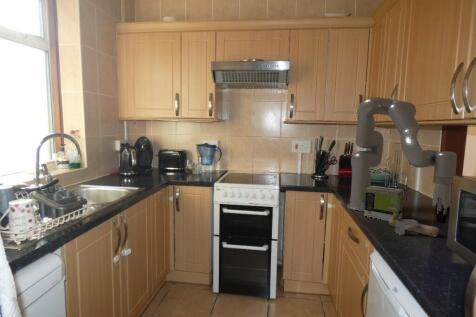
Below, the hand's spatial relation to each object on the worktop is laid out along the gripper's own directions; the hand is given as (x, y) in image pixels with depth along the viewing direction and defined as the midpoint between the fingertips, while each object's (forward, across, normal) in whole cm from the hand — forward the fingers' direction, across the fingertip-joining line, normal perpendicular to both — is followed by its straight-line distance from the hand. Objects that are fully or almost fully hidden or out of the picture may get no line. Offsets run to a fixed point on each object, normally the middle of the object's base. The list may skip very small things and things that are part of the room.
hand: (441, 222), depth 124 cm
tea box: (+4, -1, -24) cm, 25 cm away
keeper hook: (+4, +14, -9) cm, 17 cm away
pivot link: (+4, +7, -9) cm, 12 cm away
